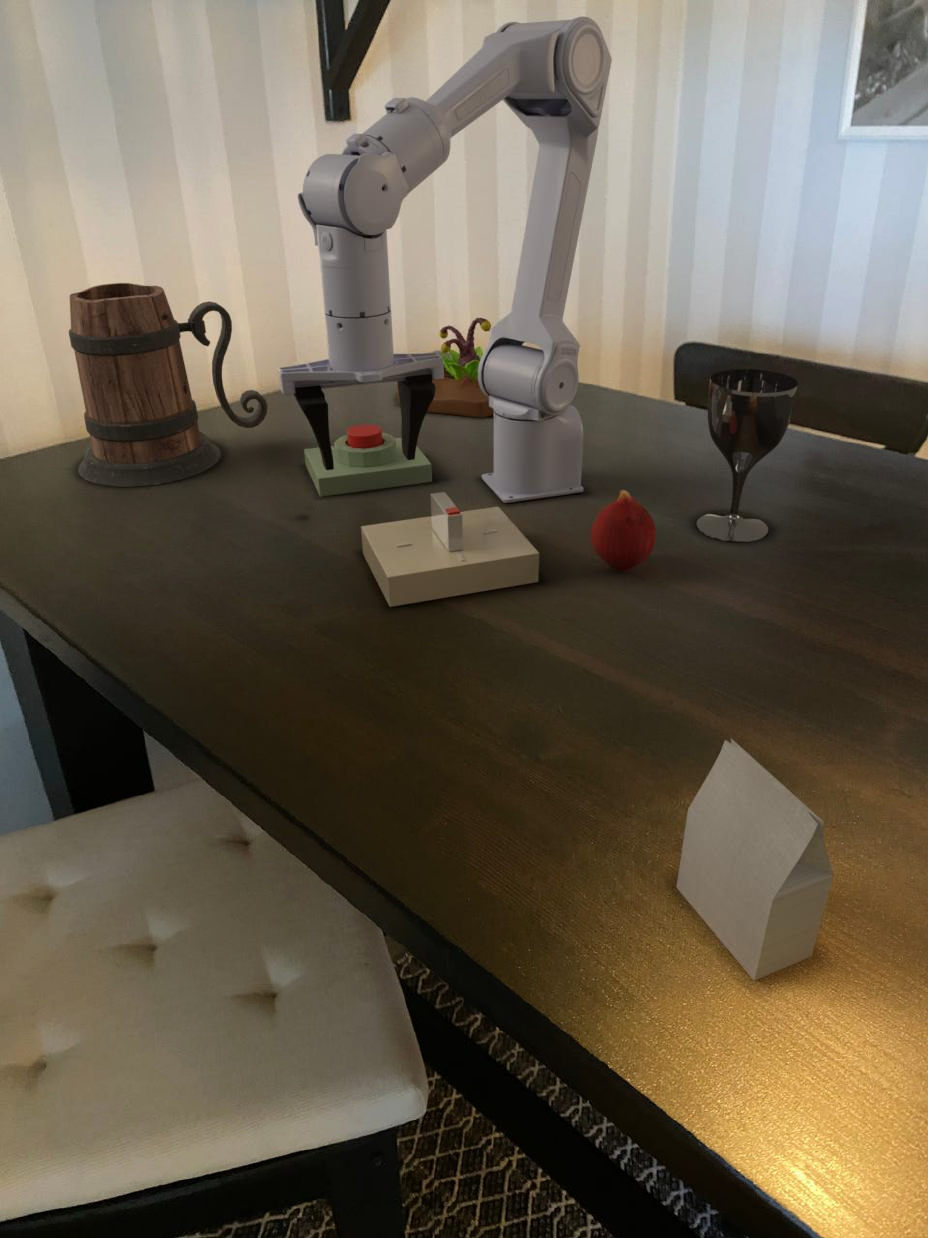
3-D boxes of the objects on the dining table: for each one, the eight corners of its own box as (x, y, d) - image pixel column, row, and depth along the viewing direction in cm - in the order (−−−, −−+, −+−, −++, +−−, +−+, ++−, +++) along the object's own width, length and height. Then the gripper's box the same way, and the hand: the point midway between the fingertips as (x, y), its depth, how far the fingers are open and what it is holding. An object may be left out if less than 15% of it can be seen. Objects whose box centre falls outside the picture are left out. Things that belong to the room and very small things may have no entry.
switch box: (431, 527, 86) (430, 491, 84) (445, 525, 86) (444, 489, 84) (448, 552, 81) (447, 513, 79) (463, 549, 81) (462, 511, 79)
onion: (656, 561, 85) (664, 482, 81) (646, 589, 81) (655, 507, 77) (596, 553, 87) (601, 475, 83) (582, 580, 82) (587, 499, 78)
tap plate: (498, 533, 91) (498, 504, 90) (538, 582, 82) (539, 551, 81) (362, 554, 88) (360, 524, 86) (389, 607, 79) (387, 575, 77)
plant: (494, 425, 120) (494, 340, 114) (376, 404, 129) (371, 323, 123) (561, 387, 134) (564, 310, 129) (451, 370, 144) (450, 297, 138)
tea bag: (754, 981, 46) (787, 835, 40) (676, 887, 51) (697, 748, 46) (811, 956, 47) (851, 812, 42) (729, 867, 52) (755, 730, 47)
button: (378, 437, 106) (377, 422, 105) (386, 448, 103) (385, 433, 102) (345, 441, 105) (343, 426, 104) (351, 452, 102) (350, 437, 101)
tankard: (86, 496, 101) (41, 312, 91) (71, 450, 114) (30, 285, 104) (289, 461, 110) (268, 289, 100) (253, 422, 123) (232, 266, 113)
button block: (410, 453, 112) (408, 421, 110) (432, 482, 103) (431, 448, 101) (305, 466, 108) (302, 434, 106) (320, 497, 100) (316, 463, 98)
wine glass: (778, 518, 93) (803, 373, 86) (765, 549, 87) (792, 396, 80) (701, 506, 96) (719, 365, 89) (684, 535, 90) (702, 387, 83)
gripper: (278, 328, 72) (297, 486, 79) (452, 313, 76) (455, 466, 83) (268, 310, 78) (286, 459, 85) (429, 297, 82) (434, 441, 89)
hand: (368, 461), depth 84 cm, fingers open, 7 cm apart
